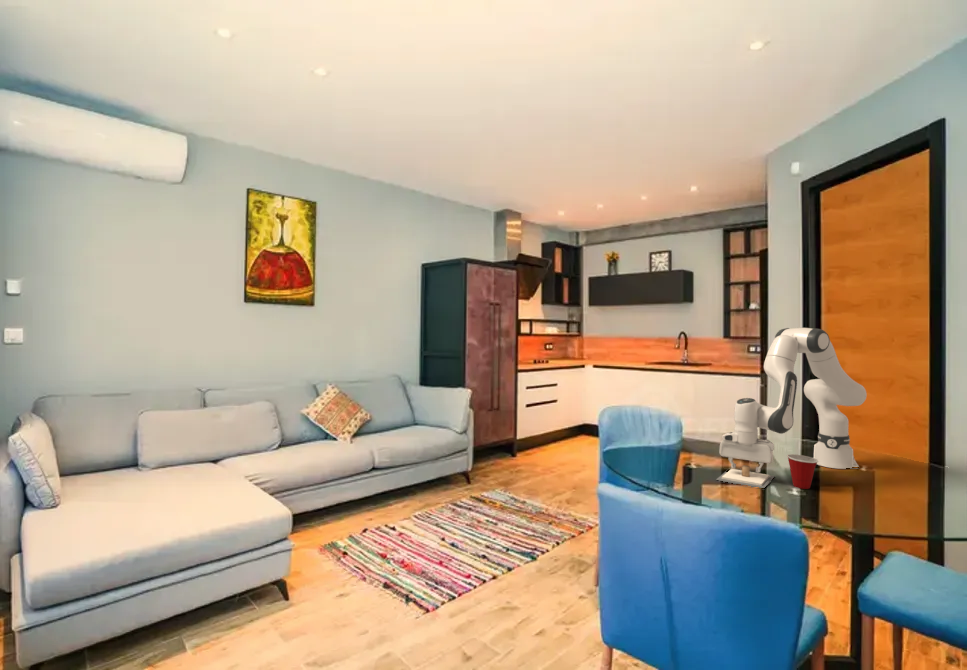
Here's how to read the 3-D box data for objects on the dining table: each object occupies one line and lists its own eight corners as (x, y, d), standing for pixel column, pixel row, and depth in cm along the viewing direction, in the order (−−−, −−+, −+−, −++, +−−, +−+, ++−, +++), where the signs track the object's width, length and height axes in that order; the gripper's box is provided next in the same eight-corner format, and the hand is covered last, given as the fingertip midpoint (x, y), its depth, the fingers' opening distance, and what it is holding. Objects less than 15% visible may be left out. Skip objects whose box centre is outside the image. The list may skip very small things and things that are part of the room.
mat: (729, 469, 231) (729, 468, 231) (774, 477, 219) (774, 476, 219) (716, 480, 215) (716, 479, 215) (764, 489, 204) (764, 488, 204)
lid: (731, 470, 228) (731, 459, 228) (769, 476, 218) (769, 465, 218) (721, 478, 216) (721, 467, 216) (761, 485, 207) (761, 473, 206)
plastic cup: (823, 491, 200) (823, 461, 200) (792, 490, 202) (792, 460, 202) (811, 483, 211) (811, 454, 211) (782, 481, 213) (782, 453, 213)
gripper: (775, 439, 212) (775, 472, 213) (722, 432, 226) (722, 464, 226) (772, 442, 208) (771, 476, 208) (718, 435, 221) (718, 467, 221)
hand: (745, 469), depth 217 cm, fingers open, 8 cm apart
